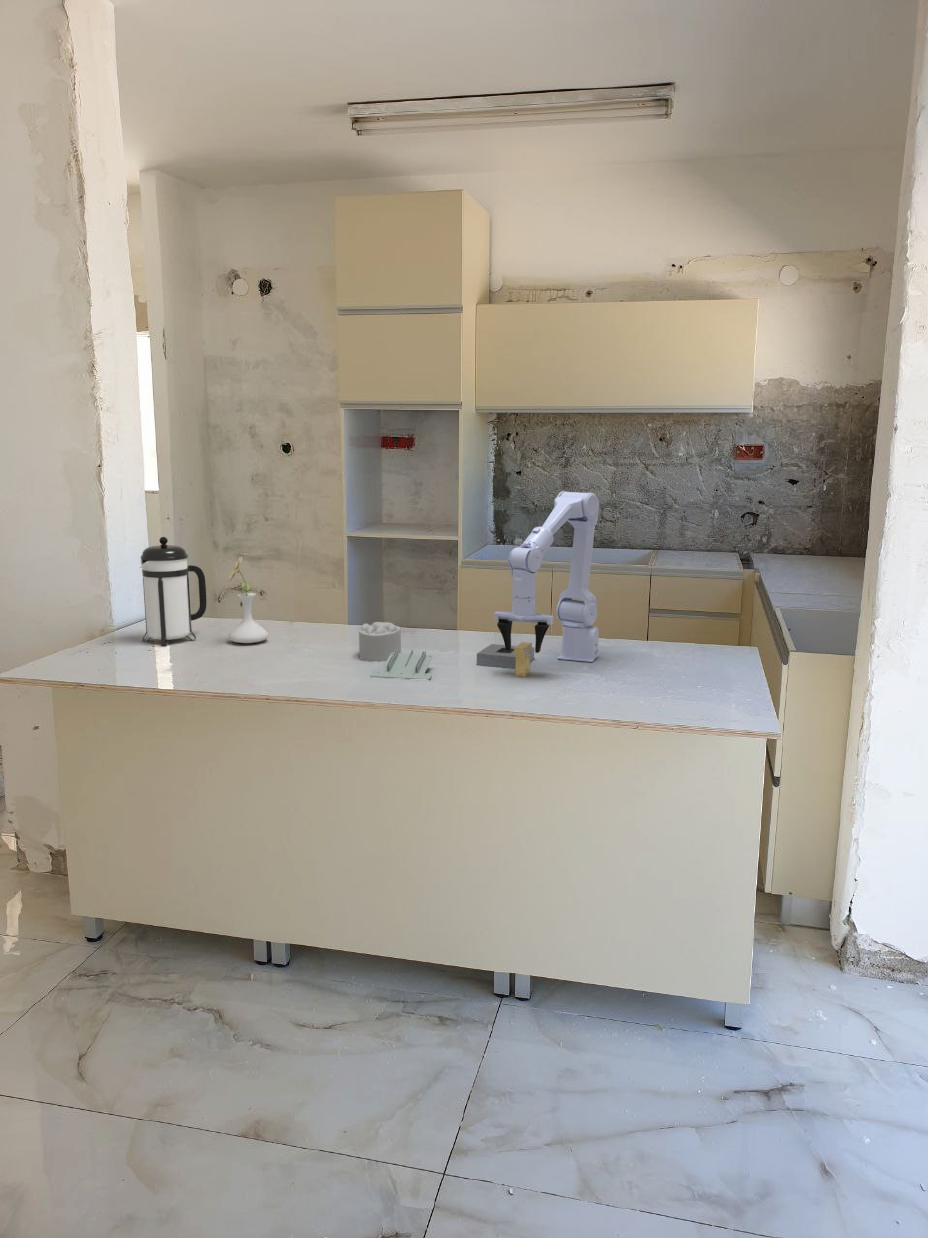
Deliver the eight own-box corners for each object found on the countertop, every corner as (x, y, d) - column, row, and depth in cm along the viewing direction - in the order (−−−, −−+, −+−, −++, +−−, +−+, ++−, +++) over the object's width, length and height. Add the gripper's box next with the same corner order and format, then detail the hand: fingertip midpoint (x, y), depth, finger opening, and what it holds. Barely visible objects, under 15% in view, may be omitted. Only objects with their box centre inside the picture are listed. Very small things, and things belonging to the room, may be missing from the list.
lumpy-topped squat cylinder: (404, 651, 255) (403, 620, 253) (391, 662, 242) (390, 630, 241) (367, 649, 257) (367, 619, 255) (353, 660, 245) (352, 628, 243)
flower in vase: (237, 636, 272) (233, 552, 267) (274, 638, 271) (271, 553, 266) (219, 646, 260) (215, 558, 255) (258, 648, 258) (255, 559, 253)
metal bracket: (383, 644, 238) (440, 647, 235) (386, 664, 241) (442, 667, 238) (367, 673, 226) (427, 676, 223) (370, 693, 229) (429, 697, 226)
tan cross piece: (531, 671, 233) (531, 642, 232) (523, 678, 227) (523, 648, 226) (521, 670, 234) (522, 641, 233) (513, 677, 228) (514, 647, 226)
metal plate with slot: (534, 658, 247) (534, 647, 246) (520, 669, 236) (521, 657, 235) (491, 654, 251) (491, 643, 250) (476, 664, 240) (476, 653, 239)
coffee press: (191, 646, 259) (185, 539, 254) (134, 646, 260) (127, 539, 254) (208, 633, 276) (203, 533, 271) (155, 633, 277) (149, 533, 271)
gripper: (490, 597, 226) (489, 651, 228) (548, 601, 221) (546, 656, 223) (499, 592, 232) (499, 645, 235) (555, 596, 227) (554, 650, 230)
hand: (522, 650), depth 229 cm, fingers open, 7 cm apart
